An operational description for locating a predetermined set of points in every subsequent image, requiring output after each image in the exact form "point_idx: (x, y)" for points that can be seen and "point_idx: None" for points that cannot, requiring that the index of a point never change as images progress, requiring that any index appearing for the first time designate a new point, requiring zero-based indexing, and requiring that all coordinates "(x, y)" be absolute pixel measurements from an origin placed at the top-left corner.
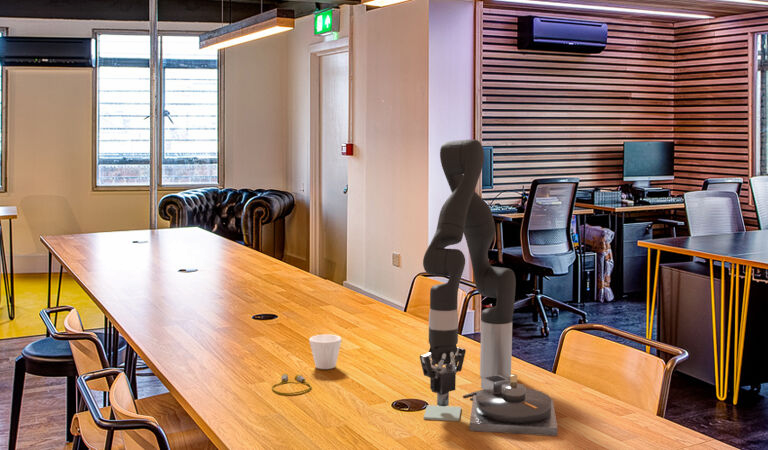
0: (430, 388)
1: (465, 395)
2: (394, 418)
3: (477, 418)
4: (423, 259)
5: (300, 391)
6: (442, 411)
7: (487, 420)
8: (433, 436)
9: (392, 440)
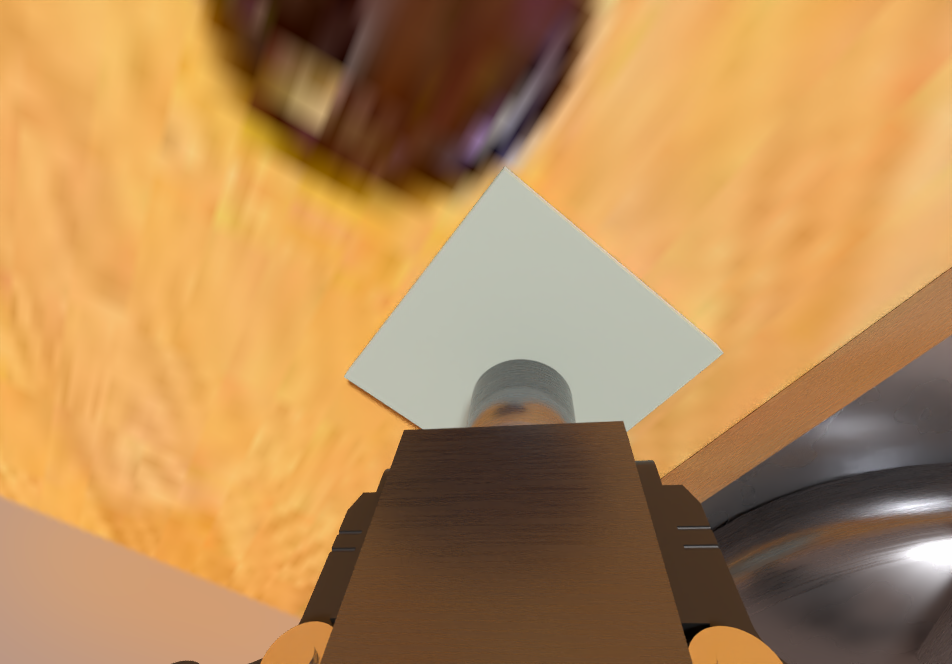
0: (353, 504)
1: None
2: (157, 255)
3: None
4: None
5: None
6: (526, 358)
7: None
8: (297, 560)
9: (85, 506)
